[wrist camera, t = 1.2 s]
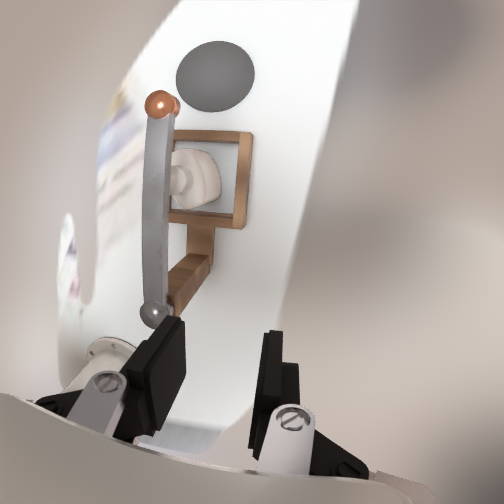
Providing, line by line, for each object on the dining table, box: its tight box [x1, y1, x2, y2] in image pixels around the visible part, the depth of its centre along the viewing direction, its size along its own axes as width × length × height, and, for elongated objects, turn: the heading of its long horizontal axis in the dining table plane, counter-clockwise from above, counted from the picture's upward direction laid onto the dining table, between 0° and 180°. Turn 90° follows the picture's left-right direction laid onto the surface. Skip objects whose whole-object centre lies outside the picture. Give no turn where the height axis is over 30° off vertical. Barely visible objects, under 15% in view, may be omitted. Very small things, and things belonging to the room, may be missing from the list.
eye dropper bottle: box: [169, 148, 221, 210], centre depth 27 cm, size 4×6×12 cm
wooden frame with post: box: [168, 130, 253, 317], centre depth 28 cm, size 16×10×13 cm, turn 175°
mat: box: [176, 41, 254, 112], centre depth 29 cm, size 9×9×1 cm
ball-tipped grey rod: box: [140, 90, 180, 329], centre depth 21 cm, size 18×2×2 cm, turn 175°
